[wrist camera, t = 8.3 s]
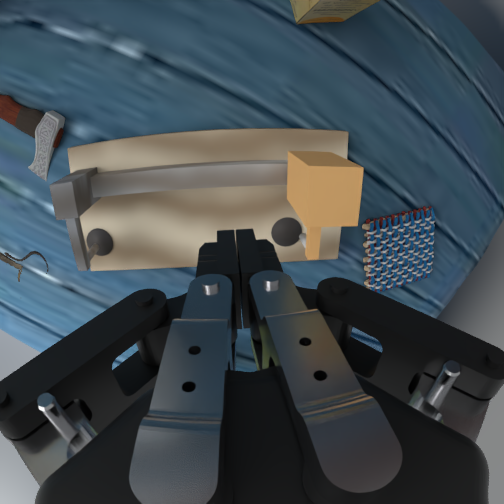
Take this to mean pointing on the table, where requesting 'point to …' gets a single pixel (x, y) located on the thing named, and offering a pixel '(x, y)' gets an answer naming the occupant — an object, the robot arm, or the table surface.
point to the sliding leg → (323, 193)
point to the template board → (185, 195)
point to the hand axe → (35, 130)
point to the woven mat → (399, 249)
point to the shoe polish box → (327, 10)
